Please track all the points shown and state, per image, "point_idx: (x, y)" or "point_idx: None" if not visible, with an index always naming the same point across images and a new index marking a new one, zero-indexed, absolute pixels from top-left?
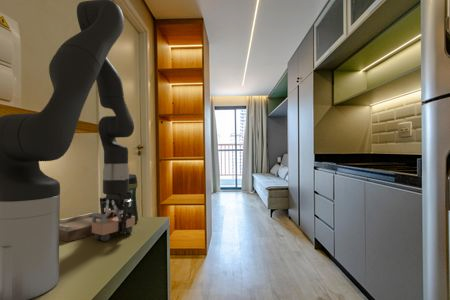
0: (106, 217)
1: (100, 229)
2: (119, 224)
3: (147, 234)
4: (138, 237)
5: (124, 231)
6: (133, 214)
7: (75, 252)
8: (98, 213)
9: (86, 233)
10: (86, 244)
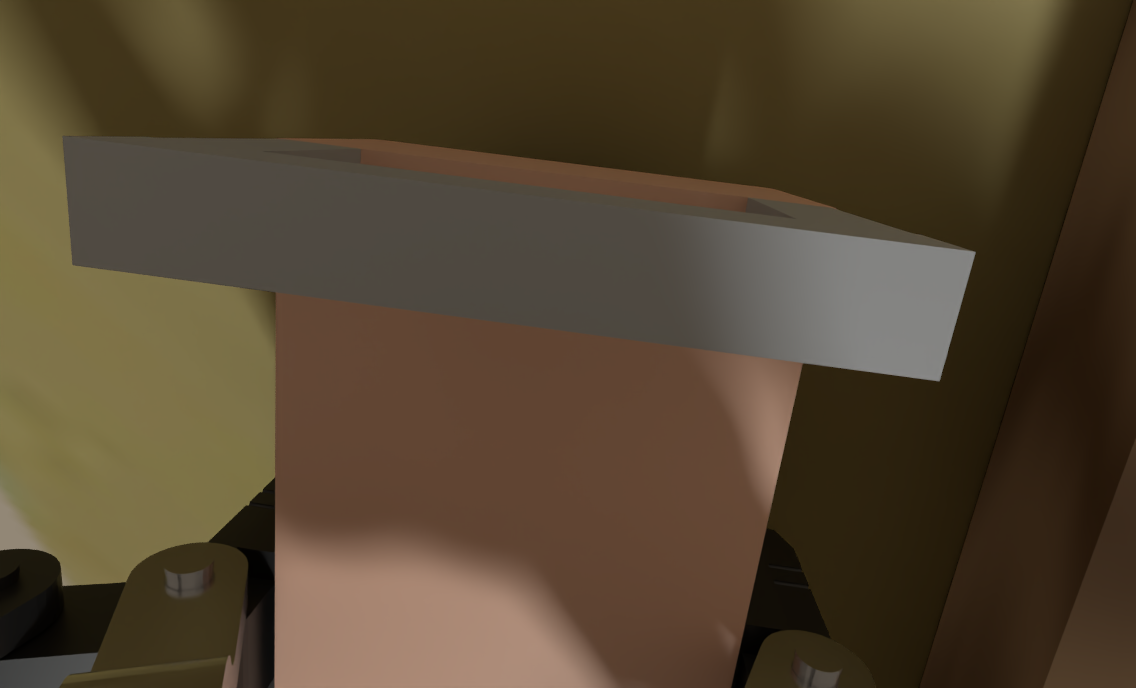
0: (773, 655)
1: (433, 150)
2: (268, 514)
3: None
4: (178, 536)
5: None
6: None
7: None
8: (577, 304)
9: (1070, 314)
10: (675, 14)
